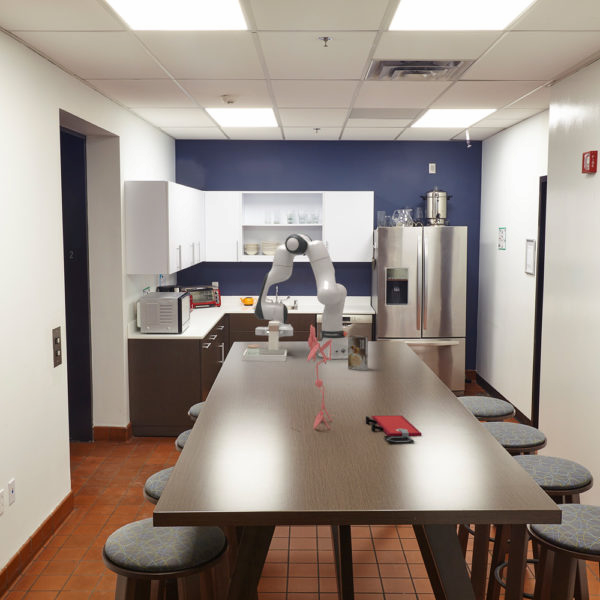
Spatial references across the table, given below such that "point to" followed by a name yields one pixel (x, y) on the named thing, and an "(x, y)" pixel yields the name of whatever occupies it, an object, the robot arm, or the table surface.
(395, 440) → the red board with handle
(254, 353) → the lidded jar
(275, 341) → the juice carton
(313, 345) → the figurine
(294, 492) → the table surface
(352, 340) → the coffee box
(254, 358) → the tray
